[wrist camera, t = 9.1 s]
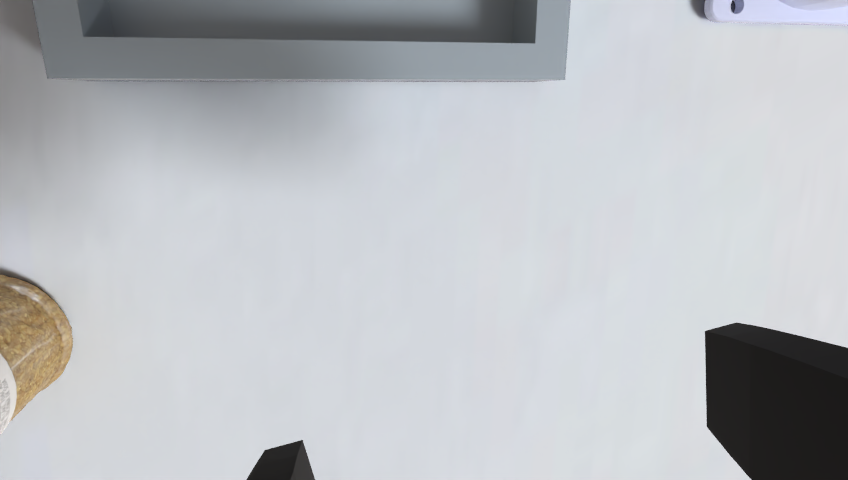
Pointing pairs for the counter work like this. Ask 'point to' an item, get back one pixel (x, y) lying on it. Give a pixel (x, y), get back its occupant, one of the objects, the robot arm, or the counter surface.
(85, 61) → the tray
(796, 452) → the robot arm
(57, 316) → the sprinkles bottle
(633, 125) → the counter surface
